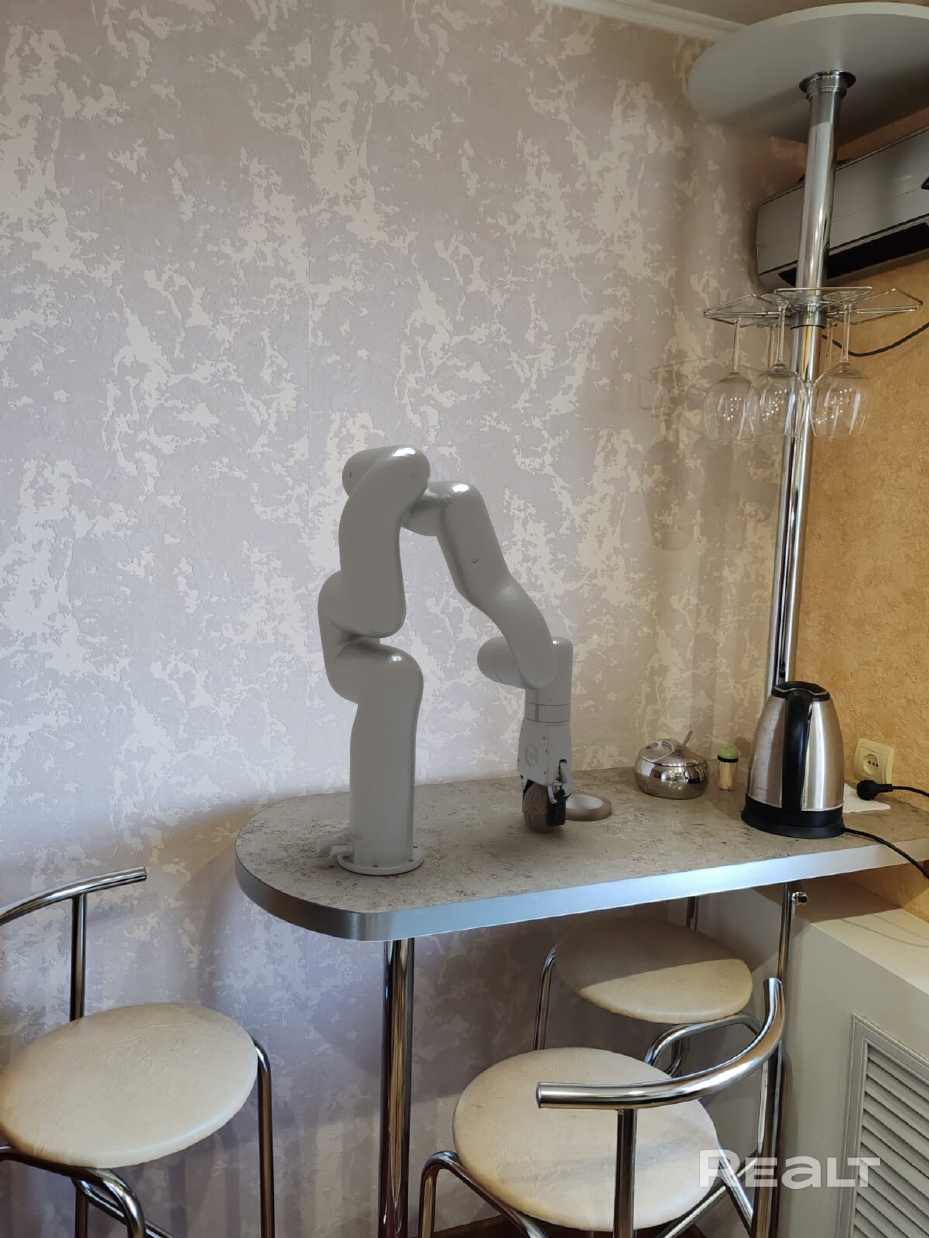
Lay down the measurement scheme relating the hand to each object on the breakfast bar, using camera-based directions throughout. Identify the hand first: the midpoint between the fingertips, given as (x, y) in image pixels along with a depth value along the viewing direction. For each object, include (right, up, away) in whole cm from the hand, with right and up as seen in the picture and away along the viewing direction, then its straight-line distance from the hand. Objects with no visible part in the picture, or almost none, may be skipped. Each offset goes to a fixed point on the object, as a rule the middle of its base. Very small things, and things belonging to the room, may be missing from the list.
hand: (543, 817), depth 147 cm
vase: (0, -2, 0) cm, 2 cm away
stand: (+7, -1, +10) cm, 13 cm away
